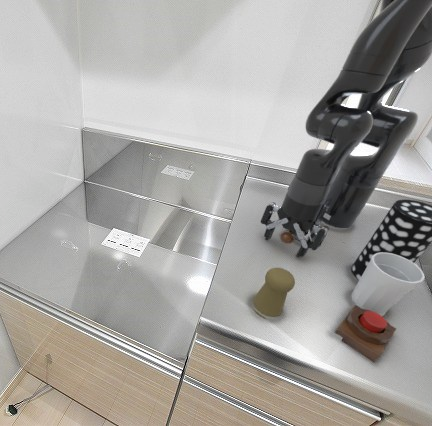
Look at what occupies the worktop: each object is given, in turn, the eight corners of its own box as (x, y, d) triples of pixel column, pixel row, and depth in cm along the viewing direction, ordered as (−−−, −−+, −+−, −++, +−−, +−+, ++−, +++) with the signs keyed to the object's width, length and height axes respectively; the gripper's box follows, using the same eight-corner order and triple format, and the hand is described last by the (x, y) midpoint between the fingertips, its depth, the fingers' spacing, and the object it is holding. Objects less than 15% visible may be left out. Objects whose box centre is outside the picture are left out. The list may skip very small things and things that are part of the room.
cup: (374, 326, 60) (408, 288, 53) (336, 297, 66) (362, 259, 59) (398, 312, 62) (434, 274, 55) (359, 285, 68) (387, 247, 61)
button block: (350, 310, 63) (359, 299, 60) (390, 334, 58) (401, 323, 56) (332, 334, 59) (341, 323, 56) (373, 362, 54) (385, 351, 52)
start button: (363, 313, 58) (367, 307, 57) (385, 325, 56) (390, 320, 55) (356, 323, 57) (360, 317, 56) (378, 336, 54) (383, 331, 53)
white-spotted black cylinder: (353, 286, 68) (402, 218, 56) (345, 262, 74) (388, 196, 62) (397, 297, 65) (458, 228, 53) (385, 270, 72) (437, 204, 60)
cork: (284, 322, 61) (304, 288, 54) (253, 317, 62) (269, 283, 55) (277, 298, 66) (294, 265, 59) (249, 294, 67) (262, 261, 60)
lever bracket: (304, 247, 79) (323, 208, 71) (282, 235, 83) (298, 198, 75) (317, 234, 83) (337, 197, 75) (296, 224, 87) (313, 187, 79)
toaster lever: (289, 248, 75) (290, 242, 72) (277, 241, 77) (277, 236, 74) (324, 205, 76) (326, 198, 74) (311, 200, 79) (312, 193, 76)
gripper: (347, 202, 64) (318, 255, 74) (283, 177, 73) (264, 227, 83) (332, 215, 60) (303, 269, 70) (267, 187, 70) (249, 238, 79)
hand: (282, 247), depth 77 cm, fingers open, 8 cm apart
